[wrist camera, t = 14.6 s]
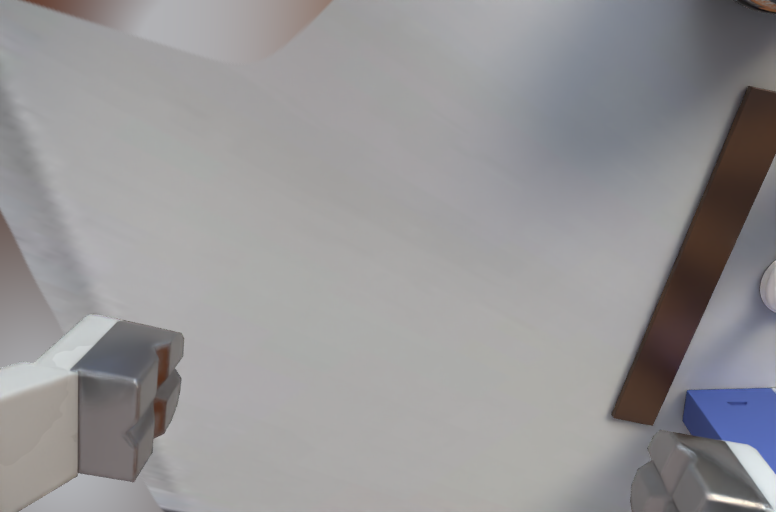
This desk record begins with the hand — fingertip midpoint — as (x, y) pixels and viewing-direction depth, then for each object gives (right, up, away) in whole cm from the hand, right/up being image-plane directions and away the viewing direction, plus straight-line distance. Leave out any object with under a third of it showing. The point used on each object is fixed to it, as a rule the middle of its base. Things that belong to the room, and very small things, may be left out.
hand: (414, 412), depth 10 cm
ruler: (+20, +2, +30) cm, 36 cm away
